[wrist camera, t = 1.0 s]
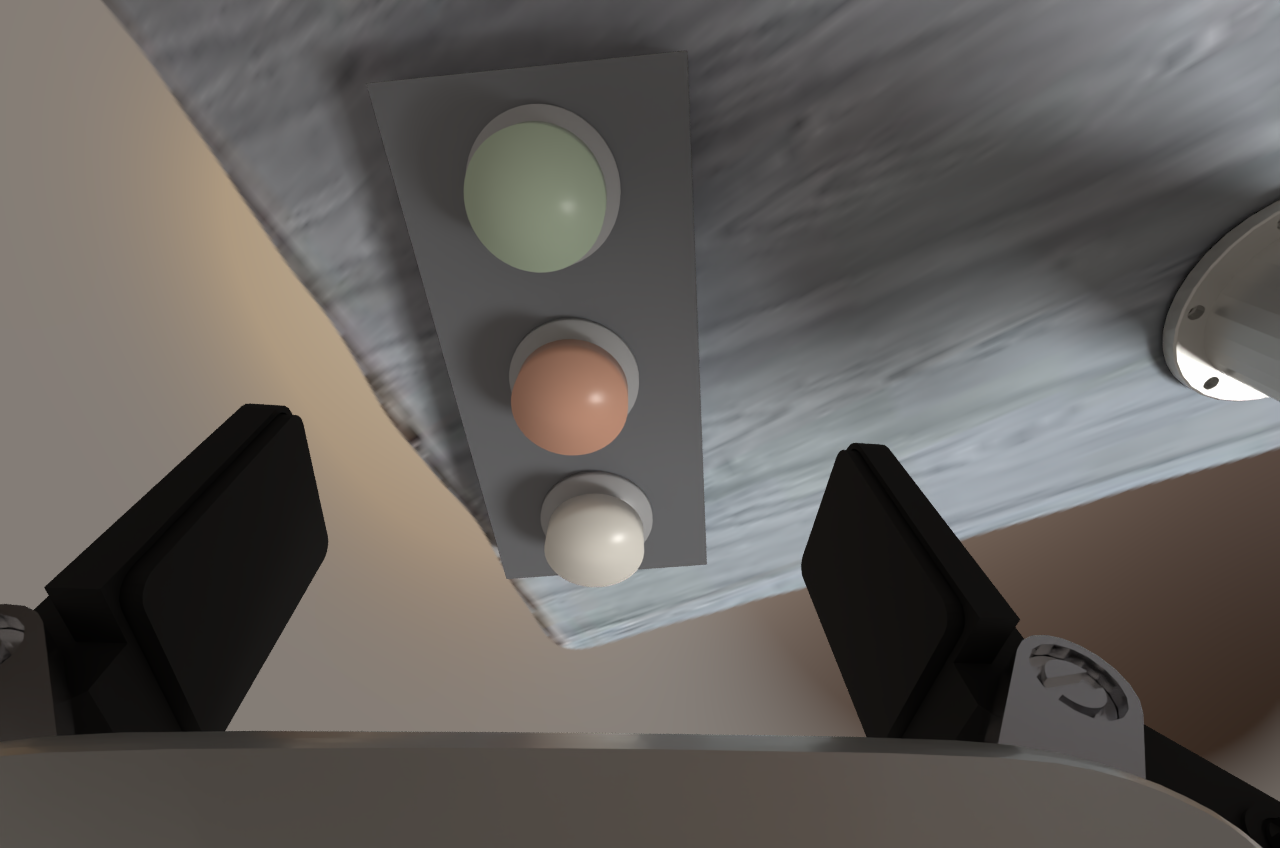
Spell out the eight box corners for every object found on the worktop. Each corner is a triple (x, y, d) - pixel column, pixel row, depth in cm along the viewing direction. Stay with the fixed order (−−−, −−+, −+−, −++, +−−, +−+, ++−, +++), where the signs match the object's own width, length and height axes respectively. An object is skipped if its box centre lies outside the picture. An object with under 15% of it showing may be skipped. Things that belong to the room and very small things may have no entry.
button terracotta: (622, 334, 30) (621, 348, 28) (633, 433, 33) (633, 450, 31) (506, 344, 30) (499, 358, 28) (528, 441, 33) (523, 459, 31)
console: (682, 53, 27) (688, 50, 24) (702, 535, 43) (707, 569, 40) (390, 82, 28) (361, 83, 25) (513, 548, 43) (505, 584, 40)
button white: (639, 489, 35) (639, 508, 33) (647, 562, 38) (647, 583, 36) (540, 497, 35) (536, 516, 33) (556, 569, 38) (553, 590, 37)
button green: (598, 114, 25) (596, 116, 23) (613, 255, 28) (612, 266, 26) (459, 128, 25) (447, 131, 23) (489, 267, 28) (481, 278, 26)
